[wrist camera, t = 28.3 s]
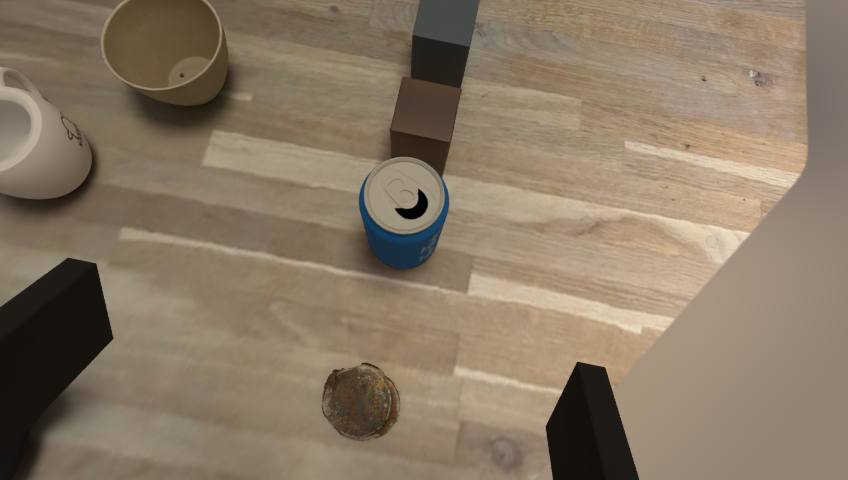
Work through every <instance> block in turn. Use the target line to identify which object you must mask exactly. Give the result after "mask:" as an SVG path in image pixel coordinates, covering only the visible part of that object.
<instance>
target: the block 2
mask: <svg viewBox="0 0 848 480" xmlns="http://www.w3.org/2000/svg"><path fill="white" fill-rule="evenodd" d="M460 94H461V88H457V87H452V86H447V85H442V84H438V83H433V82H428V81H423V80H418V79H413V78H409V77H402V82H401V86H400V90H399V94H398V99H397V103H396V107H395V111H394V116H393V120H392V124H391V128H390V135H391V159H392V158H397V157H411V158H415V159H418V160H421V161H423V162H425V163H426V164H428V165H429V166H431V167H432V168H433V169H434V170H435V171H436V172H437V173H438V174H439V175H440V176H441V177H442V176H443V172H444V168H445V164H446V160H447V156H448V152H449V148H450V143H451V139H452V134H453V129H454V124H455V119H456V114H457V109H458V104H459V99H460Z"/></svg>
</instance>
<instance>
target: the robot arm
mask: <svg viewBox="0 0 848 480" xmlns="http://www.w3.org/2000/svg"><path fill="white" fill-rule="evenodd" d="M112 340H113V335H112V330H111V326H110V322H109V317H108V313H107V308H106V304H105V300H104V295H103V291H102V287H101V282H100V278H99V273H98V269H97V265H96V263H91V262H87V261H82V260H77V259H72V258H67V259H66V260H64V261H63V262H61V263H60V264H59V265H57V266H56V267H55V268H53V269H52V270H51V271H49V272H48V273H46V274H45V275H44V276H42V277H41V278H40V279H38V280H37V281H36V282H34V283H33V284H31V285H30V286H29V287H27V288H26V289H25V290H23V291H22V292H21V293H19V294H18V295H16V296H15V297H14V298H12V299H11V300H10V301H8V302H7V303H6V304H4V305H3V306H1V307H0V457H1V456H2V454H3V453H4V452H5V451H6V450H7V449H8V448H9V447H10V446H11V445H12V444H13V443H14V442H15V441H16V440H17V439H18V438H19V437H20V436H21V435H22V434H23V433H24V431H25V430H26V429H27V428H28V427H29V426H30V425H31V424H32V423H33V422H34V421H35V420H36V419H37V418H38V417H39V416H40V415H41V414H42V413H43V412H44V411H45V410H46V409H47V407H48V406H49V405H50V404H51V403H52V402H53V401H54V400H55V399H56V398H57V397H58V396H59V395H60V394H61V393H62V392H63V391H64V390H65V389H66V388H67V387H68V386H69V385H70V383H71V382H72V381H73V380H74V379H75V378H76V377H77V376H78V375H79V374H80V373H81V372H82V371H83V370H84V369H85V368H86V367H87V366H88V365H89V364H90V363H91V362H92V360H93V359H94V358H95V357H96V356H97V355H98V354H99V353H100V352H101V351H102V350H103V349H104V348H105V347H106V346H107V345H108V344H109V343H110V342H111V341H112ZM546 433H547V440H548V447H549V454H550V461H551V469H552V475H553V480H639V477H638V474H637V471H636V467H635V464H634V461H633V458H632V454H631V451H630V448H629V444H628V441H627V438H626V434H625V431H624V428H623V425H622V421H621V418H620V415H619V412H618V408H617V405H616V401H615V399H614V395H613V391H612V388H611V385H610V382H609V378H608V375H607V372H606V368H605V367H600V366H596V365H591V364H586V363H581V362H577V363H576V365H575V367H574V370H573V372H572V374H571V376H570V378H569V380H568V382H567V384H566V386H565V388H564V390H563V392H562V394H561V396H560V398H559V400H558V402H557V404H556V407H555V409H554V411H553V413H552V415H551V417H550V419H549V421H548V423H547V425H546Z"/></svg>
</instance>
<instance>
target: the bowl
mask: <svg viewBox="0 0 848 480" xmlns="http://www.w3.org/2000/svg"><path fill="white" fill-rule="evenodd" d="M101 52H102V56H103V59H104V61H105V63H106V65H107V66H108V68H109V69H110V71H111V72H112V73H113V74H114V75H115V76H116V77H117V78H119V79H120V80H121V81H123V82H124V83H125V84H127V85H128V86H130V87H132V88H133V89H135V90H137V91H139V92H140V93H142V94H144V95H146V96H149V97H151V98H154V99H156V100H159V101H162V102H166V103H170V104H175V105H182V106H195V105H201V104H205V103H207V102H209V101H211V100H212V99H213V98H215V97H216V96H217V94H218V93H219V92H220V90H221V88H222V86H223V84H224V81H225V78H226V74H227V67H228V51H227V43H226V38H225V33H224V30H223V27H222V24H221V21H220V19H219V16H218V14H217V12H216V11H215V9H214V8H213V6H212V5H211V4H210V3H209V2H208V1H207V0H124V1H123V2H121V3H120V4H119V5H118V6H117V7H116V8H115V9H114V10H113V11H112V13H111V14H110V15H109V17H108V19H107V21H106V22H105V25H104V27H103V31H102V35H101ZM181 76H183V77H181Z"/></svg>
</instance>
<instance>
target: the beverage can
mask: <svg viewBox="0 0 848 480" xmlns="http://www.w3.org/2000/svg"><path fill="white" fill-rule="evenodd" d="M359 206H360V212H361V215H362V219H363V223H364V226H365V230H366V233H367V237H368V241H369V244H370V247H371V249H372V251H373V253H374V254H375V255H376V257H377V258H378V259H379V260H381V261H382V262H383V263H385V264H387V265H389V266H391V267H395V268H411V267H415V266H417V265H420V264H421V263H423V262H424V261H426V260H427V259H428V258H429V257H430V256H431V254H432V253H433V251H434V250H435V248H436V245H437V242H438V239H439V236H440V234H441V231H442V228H443V225H444V222H445V219H446V216H447V213H448V208H449V196H448V191H447V188H446V185H445V183H444V181H443V179H442V178H441V176H440V175H439V174H438V173H437V172H436V171H435V170H434V169H433V168H432V167H431V166H429V165H428V164H426V163H425V162H423V161H421V160H418V159H415V158H411V157H397V158H392V159H389V160H387V161H385V162H383V163H381V164H380V165H378V166H377V167H376V168H375V169H374V170H373V171H372V172H371V173H370V174H369V175H368V176H367V178H366V179H365V181H364V183H363V185H362V187H361V191H360V196H359Z"/></svg>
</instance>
